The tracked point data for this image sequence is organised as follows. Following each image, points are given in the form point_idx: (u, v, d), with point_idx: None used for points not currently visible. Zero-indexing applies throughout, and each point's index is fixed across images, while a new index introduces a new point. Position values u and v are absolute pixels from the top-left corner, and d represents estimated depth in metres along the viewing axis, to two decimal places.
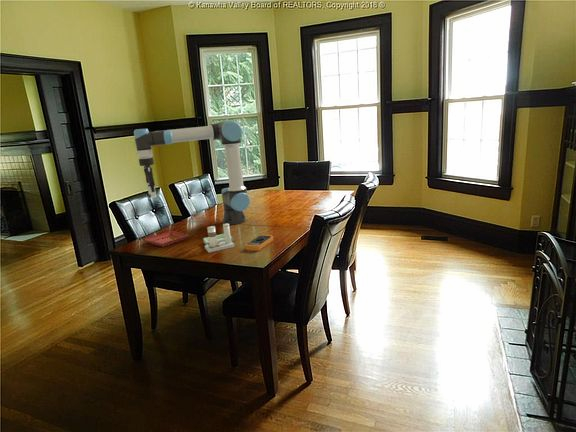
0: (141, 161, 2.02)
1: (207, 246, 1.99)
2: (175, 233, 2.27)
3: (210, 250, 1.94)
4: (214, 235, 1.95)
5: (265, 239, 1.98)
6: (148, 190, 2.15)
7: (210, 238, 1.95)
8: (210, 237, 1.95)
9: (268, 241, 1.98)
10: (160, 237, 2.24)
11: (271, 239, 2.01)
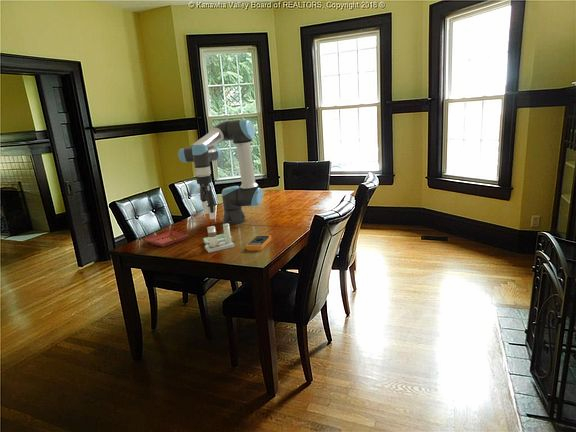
0: (199, 179, 1.86)
1: (207, 246, 1.99)
2: (175, 233, 2.27)
3: (210, 250, 1.94)
4: (214, 235, 1.95)
5: (264, 239, 1.99)
6: (203, 209, 1.98)
7: (210, 238, 1.95)
8: (210, 237, 1.95)
9: (268, 241, 1.99)
10: (160, 237, 2.24)
11: (270, 239, 2.02)
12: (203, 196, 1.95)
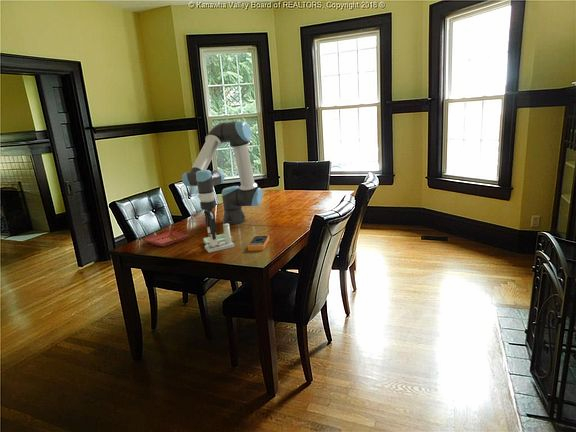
0: (203, 205, 1.89)
1: (207, 246, 1.99)
2: (175, 233, 2.27)
3: (210, 250, 1.94)
4: None
5: (264, 238, 1.99)
6: None
7: (210, 238, 1.95)
8: (210, 237, 1.95)
9: (267, 240, 1.99)
10: (160, 237, 2.24)
11: (268, 238, 2.02)
12: (208, 223, 1.97)
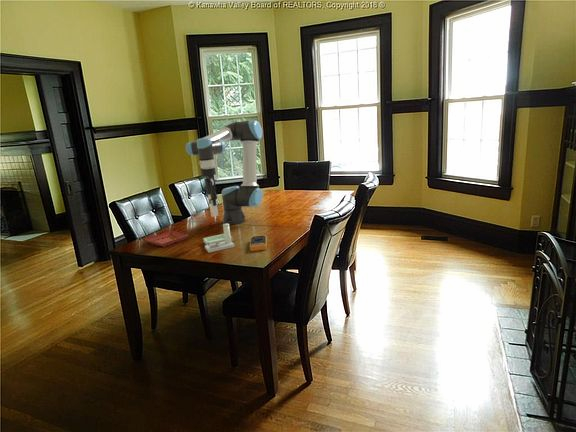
0: (204, 171, 1.96)
1: (207, 246, 1.99)
2: (175, 233, 2.27)
3: (210, 250, 1.94)
4: None
5: (263, 238, 2.00)
6: None
7: (211, 205, 2.02)
8: (211, 204, 2.02)
9: (266, 240, 2.00)
10: (160, 237, 2.24)
11: (266, 238, 2.03)
12: (209, 190, 2.03)
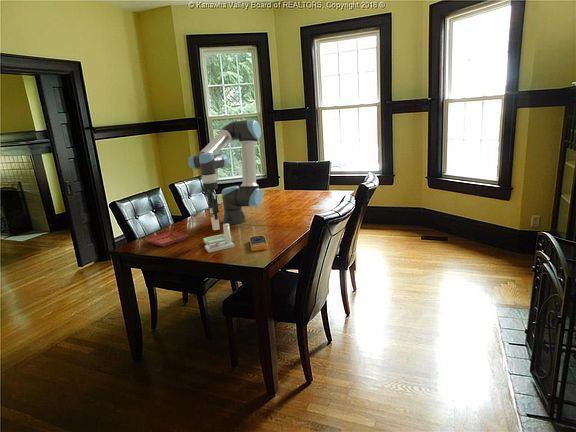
0: (206, 186, 1.98)
1: (207, 246, 1.99)
2: (175, 233, 2.27)
3: (210, 250, 1.94)
4: None
5: (262, 238, 2.00)
6: None
7: (212, 218, 2.04)
8: (212, 217, 2.04)
9: None
10: (160, 237, 2.24)
11: None
12: (211, 204, 2.05)
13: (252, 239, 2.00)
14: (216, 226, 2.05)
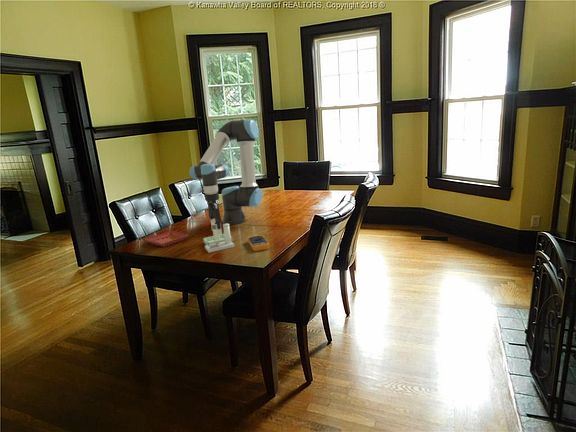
0: (208, 197, 1.99)
1: (207, 246, 1.99)
2: (175, 233, 2.27)
3: (210, 250, 1.94)
4: None
5: (261, 238, 2.00)
6: None
7: (214, 230, 2.06)
8: (214, 229, 2.06)
9: None
10: (160, 237, 2.24)
11: None
12: (211, 213, 2.08)
13: (251, 239, 1.99)
14: (218, 238, 2.07)
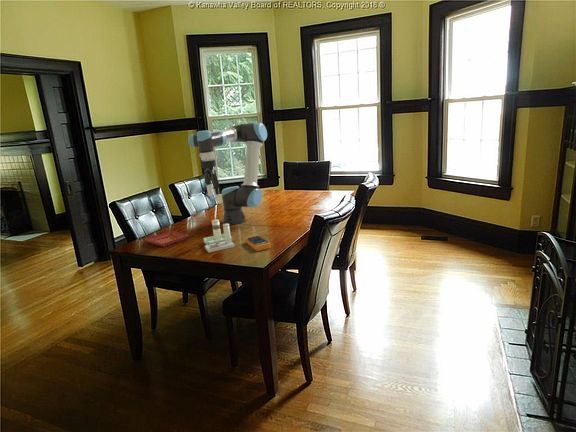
0: (204, 163, 1.99)
1: (207, 246, 1.99)
2: (175, 233, 2.27)
3: (210, 250, 1.94)
4: (218, 228, 2.06)
5: (260, 238, 2.00)
6: (208, 192, 2.13)
7: (214, 230, 2.06)
8: (214, 230, 2.06)
9: None
10: (160, 237, 2.24)
11: None
12: (208, 179, 2.10)
13: (250, 240, 1.99)
14: (218, 238, 2.07)
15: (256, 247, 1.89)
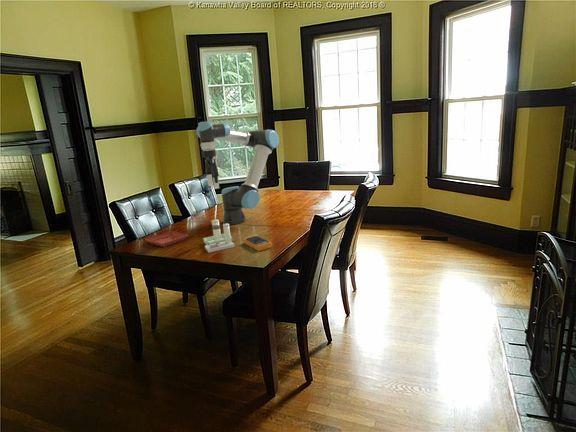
0: (205, 153, 2.08)
1: (207, 246, 1.99)
2: (175, 233, 2.27)
3: (210, 250, 1.94)
4: (218, 228, 2.06)
5: (259, 238, 2.00)
6: (208, 181, 2.20)
7: (214, 231, 2.06)
8: (214, 230, 2.06)
9: None
10: (160, 237, 2.24)
11: None
12: (208, 169, 2.17)
13: (250, 240, 1.98)
14: (218, 238, 2.07)
15: (258, 247, 1.89)
